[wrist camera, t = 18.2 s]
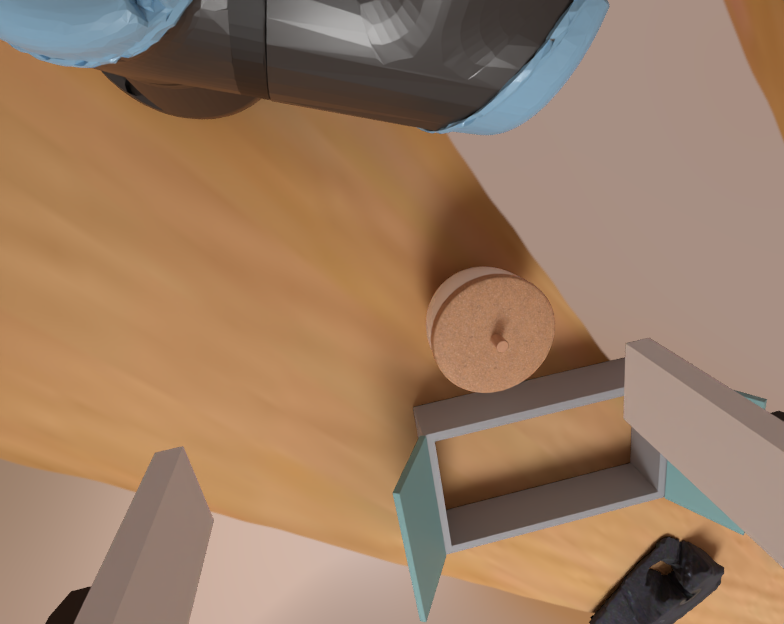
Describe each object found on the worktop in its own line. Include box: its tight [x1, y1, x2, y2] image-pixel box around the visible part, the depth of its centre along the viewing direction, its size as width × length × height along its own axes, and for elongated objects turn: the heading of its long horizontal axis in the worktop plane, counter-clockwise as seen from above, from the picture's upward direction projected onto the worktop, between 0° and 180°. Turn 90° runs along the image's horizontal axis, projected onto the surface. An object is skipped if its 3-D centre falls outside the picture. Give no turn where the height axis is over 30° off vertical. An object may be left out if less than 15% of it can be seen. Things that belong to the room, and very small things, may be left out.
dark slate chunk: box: [589, 537, 724, 624], centre depth 66 cm, size 15×22×5 cm
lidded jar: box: [426, 267, 555, 393], centre depth 43 cm, size 11×11×9 cm
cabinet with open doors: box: [393, 358, 767, 622], centre depth 49 cm, size 34×16×12 cm, turn 100°
